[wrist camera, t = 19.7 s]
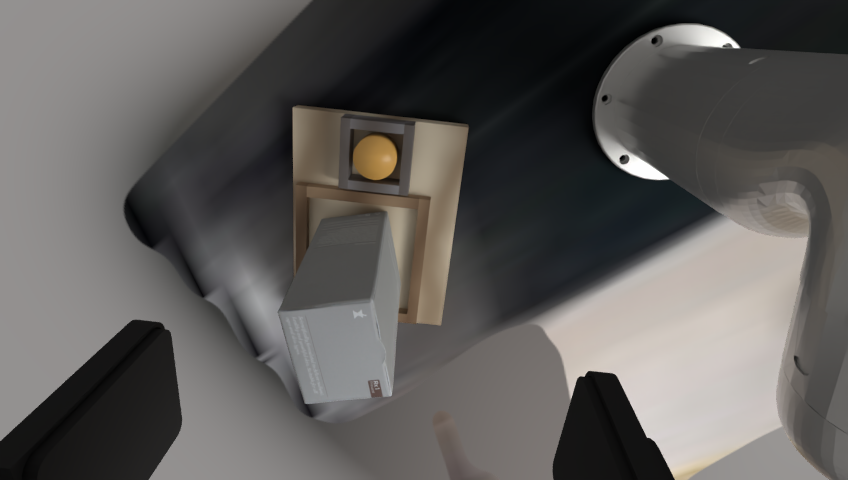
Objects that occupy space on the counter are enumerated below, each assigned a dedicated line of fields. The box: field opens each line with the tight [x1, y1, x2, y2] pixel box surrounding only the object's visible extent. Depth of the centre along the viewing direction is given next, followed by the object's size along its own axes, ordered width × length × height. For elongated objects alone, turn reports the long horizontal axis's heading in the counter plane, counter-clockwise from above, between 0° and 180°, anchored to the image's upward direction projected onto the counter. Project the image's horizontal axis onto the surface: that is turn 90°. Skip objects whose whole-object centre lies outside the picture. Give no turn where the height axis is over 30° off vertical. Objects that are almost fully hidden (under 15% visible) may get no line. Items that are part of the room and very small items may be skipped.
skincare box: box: [278, 211, 401, 404], centre depth 39 cm, size 8×7×16 cm
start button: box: [353, 132, 398, 180], centre depth 41 cm, size 4×4×2 cm
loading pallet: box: [293, 105, 469, 325], centre depth 45 cm, size 15×20×4 cm
